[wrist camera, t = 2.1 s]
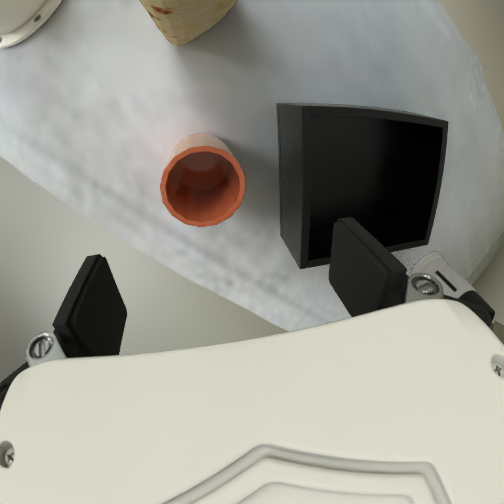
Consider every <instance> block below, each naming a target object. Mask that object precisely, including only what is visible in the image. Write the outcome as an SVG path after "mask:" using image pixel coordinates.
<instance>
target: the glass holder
mask: <svg viewBox="0 0 504 504" xmlns="http://www.w3.org/2000/svg"><path fill="white" fill-rule="evenodd" d="M415 273H426V274H429V275H431V276H433V277H435V278H436V279H437V280H439V281H440V283H441V284H442V286H443V293H444V295H448V296H451V297H454V298H457V299H461V300H464V301H467V302H470V303H474V304H477V305H480V306H482V307H484V308H485V309H486V311H487V312H488V313H489V315H490V316H491V320H493V318H494V315H495V311H494V310H493V309H492V308H491V307H490V306H489V305H488V304H487V303H486V302H485V301H484V300H483V299H482V298H481V296H479V293H478V292H477V291H476V290H475V289H474V288H473V287H472V286H471V285H470V284H469V283H468V282H467V281H466V280H465V279H464V278H463V277H462V276H461V275H460V274H459V273H457V272H456V271H455V270H454V269H453V268H452V267H451V266H450V265H449V264H448V263H447V262H445V261H444V259H443V257H442V255H441V254H440V253H439V252H431V253H429V254H427V255H425V256H424V257H423V258H421V259H420V260H419V261H418V262H417V264H416V265H415V266H414V268H413V269H412V271H411V273H410V275H409V277H410V276H411V275H412V274H415Z"/></svg>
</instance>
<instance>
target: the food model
mask: <svg viewBox="0 0 504 504" xmlns="http://www.w3.org/2000/svg"><path fill="white" fill-rule="evenodd" d="M237 1H238V0H140V2H141V4H142V5H143V6H144V7H145V9H146V10H147V12H148V13H149V15H150V16H151V18H152V19H153V21H154V23H155V24H156V26H157V27H158V29H159V30H160V31H161V32H162V33H163V35H164V36H165V38H166V39H167V40H168V41H169V42H170V43H171V44H173V45H176V46H180V45H184V44H186V43H188V42H190V41H192V40H193V39H195V38H196V37H198V36H199V35H201V34H202V33H204V32H205V31H207V30H208V29H210V28H211V27H212V26H213V25H215V24H216V23H217V22H218V21H220V20H221V19H222V18H223V17H224V15H225V14H226V13H227V12H228V11H229V10H230V9H231V8H232V7H233V6H234V5H235V4H236V3H237Z"/></svg>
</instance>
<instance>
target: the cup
mask: <svg viewBox="0 0 504 504" xmlns="http://www.w3.org/2000/svg"><path fill="white" fill-rule="evenodd" d="M160 190H161V195H162V201H163V203H164V205H165V206H166V208H167V209H168V211H169V212H170V214H171V215H172V216H174V217H175V218H177V219H178V220H180V221H181V222H183V223H184V224H188V225H193V226H197V227H205V226H211V225H217V224H219V223H220V222H222V221H224V220H226V219H228V218H230V217H231V216H232V215H233V213H234V212H235V211H236V210H237V209H238V208H239V206H240V205H241V203H242V200H243V197H244V194H245V191H246V185H245V175H244V172H243V170H242V168H241V167H240V165H239V163H238V161H237V159H236V158H235V156H234V155H233V153H232V152H231V150H230V149H229V147H228V146H227V144H226V143H224V142H223V141H222V140H221V139H220V138H218V137H216V136H214V135H211V134H207V133H197V134H193V135H190V136H188V137H186V138H184V139H183V140H181V141H180V142H179V143H178V144H177V146H176V147H175V149H174V150H173V151H172V153H171V155H170V158H169V160H168V162H167V164H166V167H165V169H164V171H163V175H162V180H161V184H160Z"/></svg>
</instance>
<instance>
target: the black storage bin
mask: <svg viewBox="0 0 504 504" xmlns="http://www.w3.org/2000/svg"><path fill="white" fill-rule="evenodd" d="M277 123H278V148H279V180H280V233H281V237H282V239H283V240H284V242H285V244H286V246H287V247H288V249H289V251H290V252H291V254H292V256H293V258H294V259H295V261H296V263H297V265H298V266H299V268H300V269H304V268H310V267H315V266H321V265H326V264H330V259H331V249H332V238H333V226H334V223H336V222H337V221H338V219H340V218H349V217H352V218H353V219H355V220H356V221H357V222H358V223H359V224H360V225H361V226H362V227H364V228H365V229H366V230H367V231H368V232H369V233H370V234H371V235H372V236H373V237H375V238H376V239H377V240H378V241H379V242H380V243H381V244H382V245H383V246H384V247H385V248H386V249H387V250H388V251H389V252H394V251H399V250H404V249H409V248H414V247H419V246H423V245H428V242H429V238H430V235H431V231H432V226H433V222H434V218H435V213H436V209H437V204H438V199H439V193H440V188H441V182H442V176H443V169H444V162H445V154H446V144H447V134H448V121H444V120H441V119H437V118H433V117H429V116H425V115H420V114H416V113H411V112H406V111H399V110H392V109H385V108H376V107H367V106H356V105H342V104H321V103H277Z"/></svg>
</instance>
